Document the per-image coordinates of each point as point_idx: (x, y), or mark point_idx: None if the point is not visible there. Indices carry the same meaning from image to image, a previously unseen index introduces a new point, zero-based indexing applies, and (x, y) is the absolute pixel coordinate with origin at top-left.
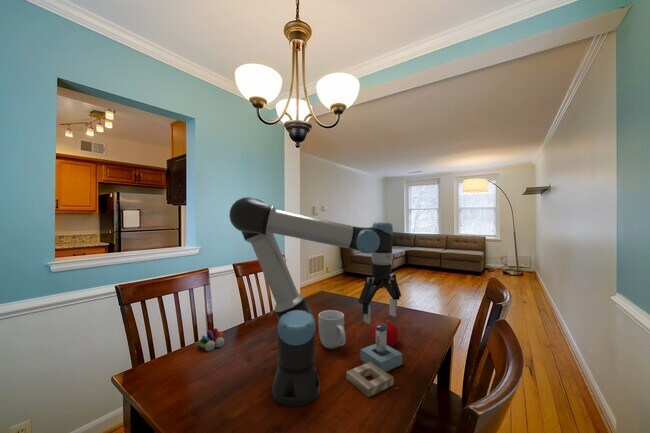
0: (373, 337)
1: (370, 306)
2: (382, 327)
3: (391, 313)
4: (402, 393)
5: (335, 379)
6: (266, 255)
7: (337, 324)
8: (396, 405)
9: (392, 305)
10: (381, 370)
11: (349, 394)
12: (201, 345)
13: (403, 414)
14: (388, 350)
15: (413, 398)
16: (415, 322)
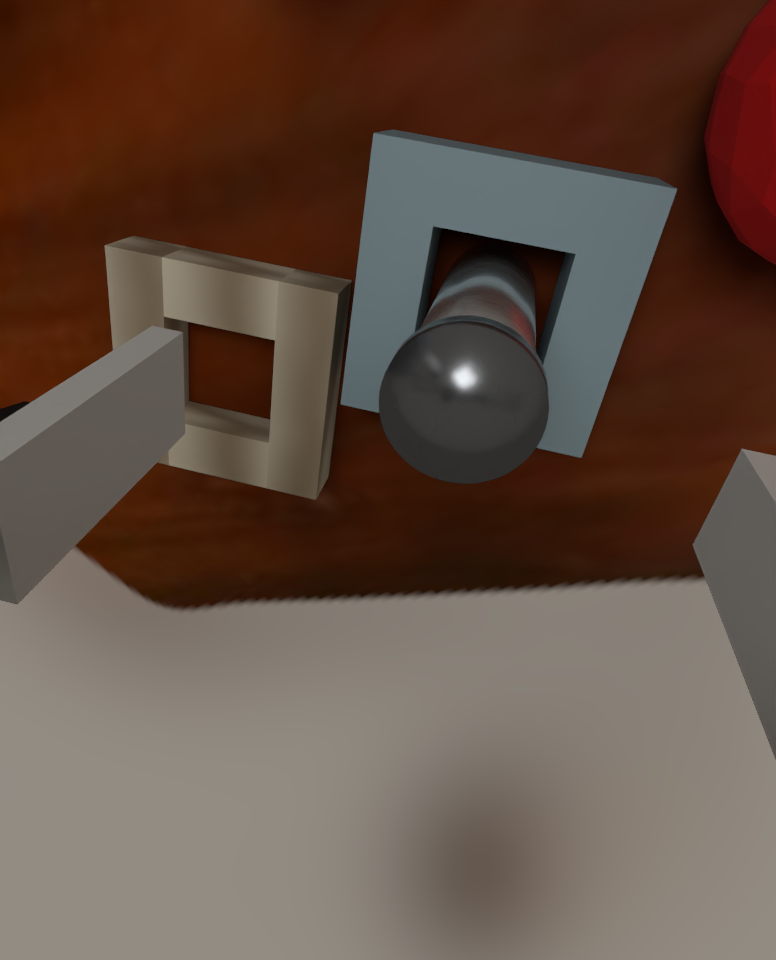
0: (746, 28)
1: (28, 590)
2: (415, 456)
3: (729, 510)
4: (308, 536)
5: (67, 184)
6: None
7: None
8: (218, 547)
9: (773, 627)
10: (314, 415)
11: (72, 349)
12: None
13: (202, 585)
14: (550, 350)
15: (319, 582)
16: None
